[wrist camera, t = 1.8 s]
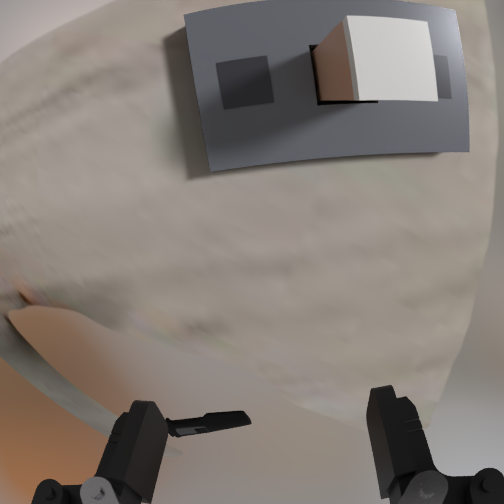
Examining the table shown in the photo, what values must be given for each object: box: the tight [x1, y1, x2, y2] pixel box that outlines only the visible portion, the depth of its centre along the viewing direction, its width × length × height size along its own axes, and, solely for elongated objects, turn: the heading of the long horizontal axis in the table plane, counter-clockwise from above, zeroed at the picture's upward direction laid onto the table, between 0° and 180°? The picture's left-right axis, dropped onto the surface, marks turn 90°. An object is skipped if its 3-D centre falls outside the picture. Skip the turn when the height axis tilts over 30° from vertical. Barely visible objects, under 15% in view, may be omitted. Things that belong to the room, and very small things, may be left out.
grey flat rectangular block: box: [184, 0, 469, 172], centre depth 23 cm, size 24×14×3 cm, turn 98°
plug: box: [310, 16, 438, 101], centre depth 18 cm, size 4×4×14 cm
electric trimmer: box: [166, 411, 251, 437], centre depth 45 cm, size 4×16×3 cm, turn 114°
